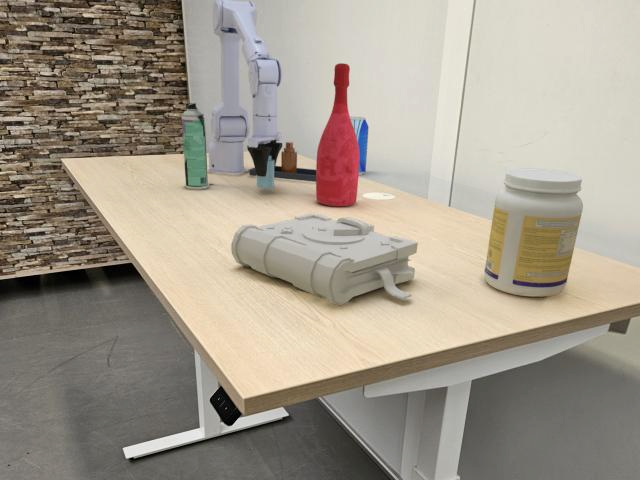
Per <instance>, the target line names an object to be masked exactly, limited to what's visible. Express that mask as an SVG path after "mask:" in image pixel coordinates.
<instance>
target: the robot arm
mask: <svg viewBox="0 0 640 480" xmlns="http://www.w3.org/2000/svg"><path fill="white" fill-rule="evenodd" d="M257 13H258V12H257V7H256V5H255V3H254V1H252V0H249V1H243V0H214V2H213V6H212V28H213V29H212V30H213V34H215V35H216V36H217V37H219V43H220V81H221V82H220V83H221V84H220V85H221V88H220V89H221V102H220V103H219V104H217V105H216V106H215V107H214V108H212V110H211V119H210V133H211V135H212V137H213V138H214V139H212V140H211V141H210V142H209V144H208V167H209V170H208V172H213V173H223V174H233V175H239V174H242V173H245V172H248V171H249V169H250V168H249V169H248V168H245V152H244V142H246V140H247V144H248V145H247V147H246V148H247V151H248V153H249V156H250V157H251V160H252V163H253V166H254V168H255V171H256V174H257V176H262V177H265V176H266V173H267V163H268V158H269V155H271V156H272V159H274V170H275V166H277V160H278V157H279V154H280V152H281V150H282V148H283V142H280V141H281V140H282V139H283V137H282V135H281V132H279V131H278V88H279V86H280V85H281V82H282V74H283V73H282V66H281V63H280V60H279V59H277V58H275V57H272V55H271V53H270V51H269V48H268V46H267V44H266V42H265V40H264V39H263V38H262V37H261V36H258V33H257V29H256V24H257V18H258V14H257ZM240 41H242V45H241V51H242V54H243V57H244V59H245V62H246V65H247V66H248V69H247V71H248V72H247V75H248V81H249V89H250V90H249V92H250V94H251V96H252V97H251V98H252V134H251V136H250V122H249V113H248V111H247V109H245V108H244V107H243V106H242V105H241V104H240ZM249 136H250V137H249Z"/></svg>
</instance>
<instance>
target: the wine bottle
mask: <svg viewBox="0 0 640 480" xmlns="http://www.w3.org/2000/svg"><path fill="white" fill-rule="evenodd" d="M350 67H351V66H350V65H349V64H347V63H343V62H342V63H341V62H339V63H336V64H335V66H334V68H333V69H334V75H333V87H334V91H335V92H334V99H333V105H332V109H331V113H330V116H329V118H328V121H327V122H326V124H325V127H324V129H323V131H322V134H321V136H320V140H319V142H318V146H317V150H316V151H317V152H316V162H315V163H316V166H315V167H316V168H315V170H316V182H315V198H316V201H317V202H318V203H319V204H322V205H324V206H327V207H328V206H329V207H349V206H352V205H354V204H355V203H356V201H357V197H358V188H359V176H360V175H359V160H360V153H359V145H358V141H357V137H356V134H355V131H354V128H353V125H352V122H351V119H350V112H349V106H348V104H349V103H348V88H349V86H350V70H351V68H350Z"/></svg>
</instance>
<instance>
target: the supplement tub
mask: <svg viewBox="0 0 640 480" xmlns="http://www.w3.org/2000/svg"><path fill="white" fill-rule="evenodd" d="M582 181H583V178H582V176H580V175H578V174H576V173H571V172H568V171H561V170H554V169H546V168H525V167H524V168H512V169H508V170H507V171H506V173H505V178H504V180H503V184H504V186H505V187H504V188H503V189H501V190H500V191H499V192H498V193H497V194H496V197H495V200H494V207H493V212H492V219H491V226H490V233H489V240H488V246H487V252H486V254H487V255H486V260H485V266H484V270H483V271H484V272H483V273H484V275H483V276H484V279H485V281H486V282H487V284H488V285H489V286H491V287H492V288H494V289H496V290H498V291H501V292H504V293H508V294H510V295H513V296H514V295H515V296H521V297H529V298H531V297H535V298H536V297H537V298H538V297H539V298H540V297H542V298H543V297H551V296H554V295H557V294H559V293H561V292H562V291H563V290H564V289H565V287H566V285H567V283H568V278H569V273H570V268H571V263H572V259H573V256H574V251H575V246H576V241H577V238H578V237H577V236H578V233H579V227H580V222H581V219H582V218H581V217H582V213H583V208H584V204H583V199H581V197H580V196H579V195H578V192H581V190H582Z"/></svg>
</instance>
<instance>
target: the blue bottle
mask: <svg viewBox="0 0 640 480" xmlns="http://www.w3.org/2000/svg"><path fill="white" fill-rule="evenodd" d="M255 177H256V178H255V180H256V182H255V183H256V187H257V188H260V189H273V188H275V178H274V159H272V156H271V155H269V158H268V163H267V173H266V176H265V177H262V176H257V174H256V176H255Z"/></svg>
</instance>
